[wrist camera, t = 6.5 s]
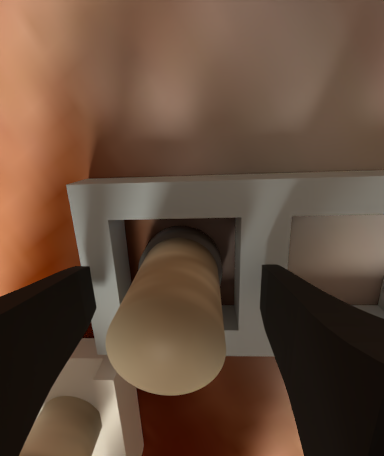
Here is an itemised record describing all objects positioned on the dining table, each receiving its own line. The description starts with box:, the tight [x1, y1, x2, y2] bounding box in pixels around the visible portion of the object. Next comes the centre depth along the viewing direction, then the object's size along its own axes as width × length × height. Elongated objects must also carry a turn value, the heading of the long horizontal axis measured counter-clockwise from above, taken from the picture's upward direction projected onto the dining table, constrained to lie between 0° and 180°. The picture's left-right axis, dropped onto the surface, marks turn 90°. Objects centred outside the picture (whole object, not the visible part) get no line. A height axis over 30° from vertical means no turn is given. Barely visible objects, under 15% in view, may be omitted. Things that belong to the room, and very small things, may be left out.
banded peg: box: [106, 226, 226, 396], centre depth 10 cm, size 4×4×6 cm
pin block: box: [66, 170, 384, 356], centre depth 12 cm, size 8×16×2 cm, turn 92°
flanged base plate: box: [36, 338, 144, 456], centre depth 15 cm, size 9×14×3 cm, turn 92°
